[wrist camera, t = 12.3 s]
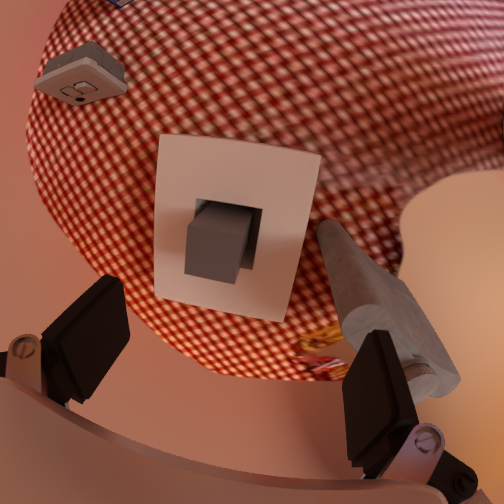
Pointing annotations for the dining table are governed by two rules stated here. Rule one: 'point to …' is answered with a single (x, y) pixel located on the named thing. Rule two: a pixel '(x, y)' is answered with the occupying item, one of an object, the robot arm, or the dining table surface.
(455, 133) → the dining table surface
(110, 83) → the electrical switch
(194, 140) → the socket
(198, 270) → the plug
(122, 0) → the milk carton
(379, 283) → the hip flask
